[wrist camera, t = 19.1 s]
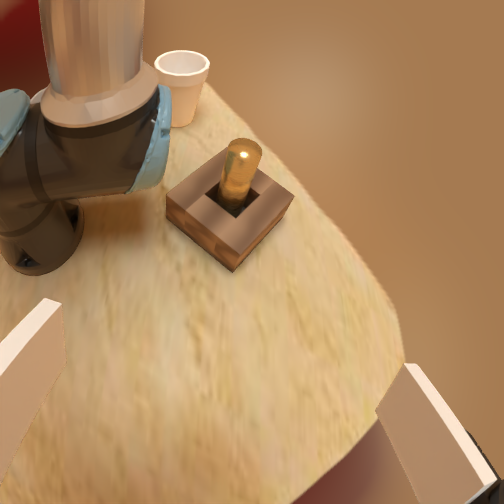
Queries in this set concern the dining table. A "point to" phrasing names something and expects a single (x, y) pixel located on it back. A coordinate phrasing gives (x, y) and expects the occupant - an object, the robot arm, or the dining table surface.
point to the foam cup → (182, 82)
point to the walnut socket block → (225, 212)
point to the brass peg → (238, 174)
